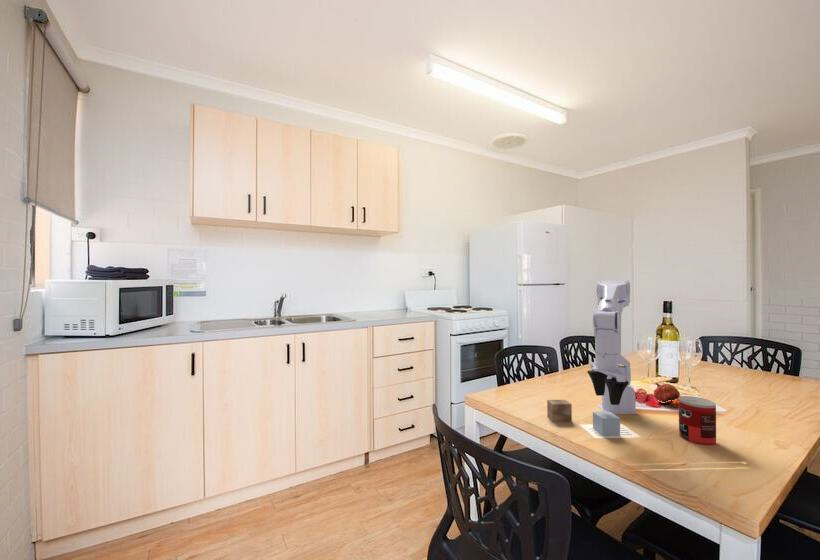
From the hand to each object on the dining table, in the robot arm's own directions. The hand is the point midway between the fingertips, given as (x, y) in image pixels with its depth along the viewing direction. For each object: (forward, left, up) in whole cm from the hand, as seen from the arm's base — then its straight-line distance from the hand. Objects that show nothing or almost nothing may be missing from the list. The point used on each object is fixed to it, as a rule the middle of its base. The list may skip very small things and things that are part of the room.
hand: (607, 399), depth 101 cm
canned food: (-22, +5, -10) cm, 25 cm away
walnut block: (+10, -10, -10) cm, 17 cm away
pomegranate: (-34, -22, -10) cm, 42 cm away
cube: (0, 0, -9) cm, 9 cm away
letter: (-1, -1, -10) cm, 10 cm away
